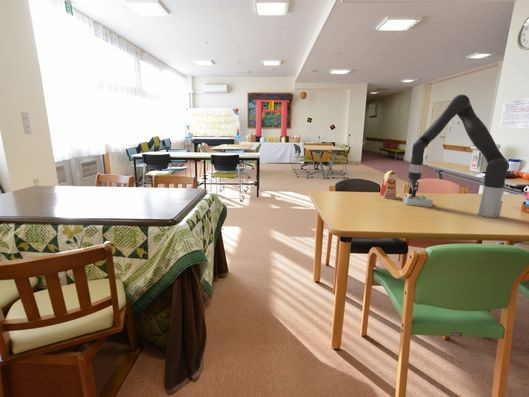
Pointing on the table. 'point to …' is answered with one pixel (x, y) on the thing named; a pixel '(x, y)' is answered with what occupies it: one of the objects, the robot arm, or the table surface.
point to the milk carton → (389, 185)
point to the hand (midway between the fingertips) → (411, 195)
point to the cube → (411, 196)
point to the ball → (421, 198)
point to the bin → (417, 201)
